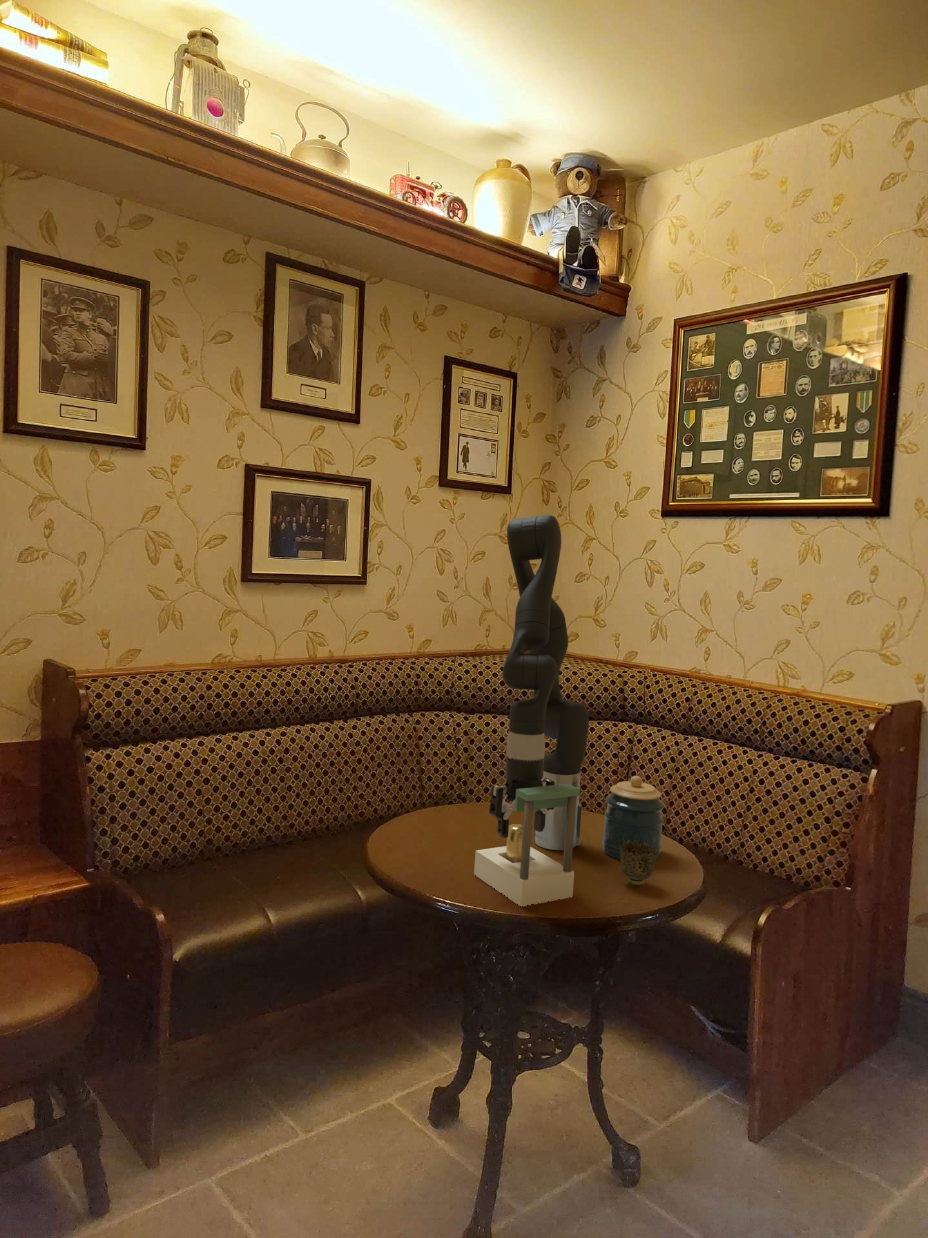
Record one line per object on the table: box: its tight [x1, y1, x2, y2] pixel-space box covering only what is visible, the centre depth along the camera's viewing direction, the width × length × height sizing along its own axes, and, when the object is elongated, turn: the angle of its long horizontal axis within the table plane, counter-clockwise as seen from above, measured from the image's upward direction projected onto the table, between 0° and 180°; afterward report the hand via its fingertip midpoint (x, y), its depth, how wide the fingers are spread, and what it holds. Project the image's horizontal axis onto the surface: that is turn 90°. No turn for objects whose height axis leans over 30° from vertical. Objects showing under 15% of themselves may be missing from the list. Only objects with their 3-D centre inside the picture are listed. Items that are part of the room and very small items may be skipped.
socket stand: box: [473, 784, 581, 908], centre depth 166 cm, size 12×17×21 cm
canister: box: [601, 775, 666, 861], centre depth 188 cm, size 13×13×18 cm
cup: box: [619, 841, 657, 888], centre depth 170 cm, size 8×7×8 cm
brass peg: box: [505, 823, 523, 863], centre depth 168 cm, size 4×4×10 cm
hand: (521, 833), depth 168 cm, fingers open, 8 cm apart
